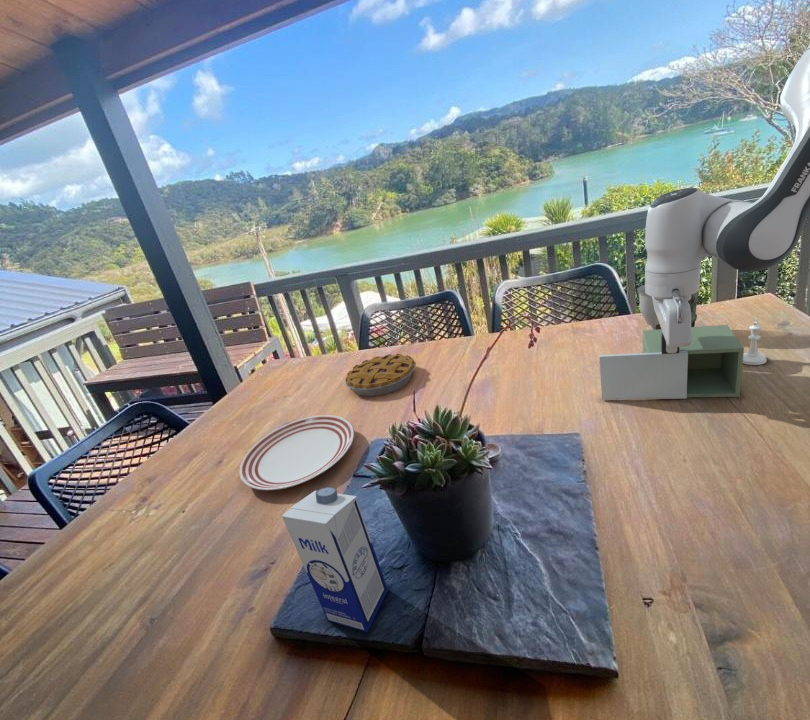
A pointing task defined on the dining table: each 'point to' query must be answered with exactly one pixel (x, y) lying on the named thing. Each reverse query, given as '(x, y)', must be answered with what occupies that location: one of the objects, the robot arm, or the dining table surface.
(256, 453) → the dinner plate
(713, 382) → the cabinet
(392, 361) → the pie
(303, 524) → the milk carton
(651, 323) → the chalice
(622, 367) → the sliding door
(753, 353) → the chess piece
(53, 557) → the dining table surface
